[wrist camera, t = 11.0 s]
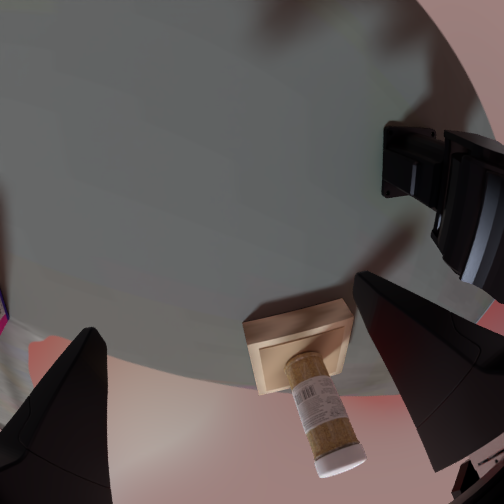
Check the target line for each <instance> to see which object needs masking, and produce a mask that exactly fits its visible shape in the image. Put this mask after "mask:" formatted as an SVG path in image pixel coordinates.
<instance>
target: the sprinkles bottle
mask: <svg viewBox="0 0 504 504" xmlns="http://www.w3.org/2000/svg"><path fill="white" fill-rule="evenodd" d="M284 372H285V374H286V376H287V377H288V380H289V383H290V386H291V390H292V394H293V397H294V400H295V403H296V406H297V410H298V412H299V416H300V419H301V422H302V425H303V428H304V431H305V434H306V435H307V437H308V440H309V443H310V446H311V449H312V452H313V454H314V460H315V463H314V464H315V467H316V470H317V472H318V475H319V477H321V478H325V477H329V476H333V475H337V474H340V473H342V472H345V471H347V470H350V469H352V468H354V467H356V466H358V465H360V464H362V463H363V462H365V461H366V459H367V456H366V454H365V451H364V449H363V447H362V445H361V444H359V443H360V442H359V441H358V440H357V438H356V435H355V433H354V430H353V428H352V426H351V423H350V422H349V417H348V415H347V413H346V410H345V408H344V406H343V403H342V401H341V399H340V397H339V394H338V392H337V390H336V387H335V385H334V383H333V381H332V379H331V377H330V375H329V373H328V371H327V369H326V366H325V364H324V362H323V357H322V355H320V354H319V353H317V352H306V353H303V354H299V355H297V356H295V357H294V358H292V359H291V360H290V361H289V362H288V363H287V364H286V365H285V368H284Z"/></svg>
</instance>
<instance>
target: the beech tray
mask: <svg viewBox="0 0 504 504" xmlns="http://www.w3.org/2000/svg"><path fill="white" fill-rule="evenodd" d="M353 320H354V316H353V314H352V313H351V311H350V310H349V308H348V306H347V305H346V303H345V302H344V300H343V299H342V298H341V299H337V300H334V301H330V302H326V303H323V304H319V305H315V306H311V307H307V308H303V309H300V310H296V311H292V312H287V313H283V314H279V315H275V316H271V317H266V318H262V319H257V320H253V321H248V322H243V323H242V324H243V328H244V333H245V337H246V341H247V346H248V350H249V355H250V359H251V363H252V367H253V372H254V376H255V380H256V384H257V388H258V392H259V395H263V394H267V393H272V392H276V391H280V390H284V389H288V388H291V386H290V383H289V380H288V377H287V376H286V374H285V372H284V368H285V365H286V364H287V363H288V362H289V361H290V360H291V359H292V358H294V357H295V356H297V355H299V354H303V353H306V352H317V353H319V354H320V355H322V357H323V362H324V364H325V366H326V369H327V371H328V373H329V375H330V376H332V375H335V374H338V373H341V372H342V368H343V364H344V360H345V356H346V352H347V347H348V343H349V339H350V334H351V329H352V325H353Z"/></svg>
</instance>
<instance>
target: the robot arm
mask: <svg viewBox="0 0 504 504" xmlns="http://www.w3.org/2000/svg"><path fill="white" fill-rule="evenodd" d="M389 130H390V134H389ZM431 133H432V135H431ZM444 137H445V142H443V141H441V140H438V139H436V131H435V130H433V129H430V128H416V127H395V126H387V127H385V129H384V143H383V172H382V191H381V192H382V196H384V197H385V198H392V197H399V196H406V195H410V196H412V197H414V198H415V199H417V200H418V201H420V202H422V203H423V204H425V205H426V206H428V207H429V208H431V209H433V210H434V211H436V217H435V222H434V227H433V230H432V232H431V238H432V239H433V241H434V242H435V244H436V245H437V247H438V248H439V250H440V252H441V253H442V255H443V257H442V258H443V260H444V262H445V263H446V264H447V265H448V266H449V267H450V268H451V269H452V270H453V271H454V272H455V273H456V274H458V275H459V276H460V277H459V279H460V280H462V281H465V282H468V283H471V284H473V285H475V286H477V287H479V288H481V289H483V290H484V291H485V292H487V293H488V294H489V295H491V296H492V297H493V298H494V299H495V300H497V301H498V302H499V303H501V304H504V145H502V144H501V143H499V142H498V141H496V140H493V139H490V138H487V137H484V136H481V135H478V134H473V133H466V132H459V131H451V130H444ZM387 191H388V192H387ZM386 192H387V194H386ZM353 297H354V300H355V302H356V304H357V307H358V309H359V311H360V314H361V316H362V318H363V321H364V323H365V326H366V328H367V330H368V333H369V335H370V337H371V339H372V340H373V342H374V344H375V346H376V348H377V350H378V352H379V353H380V355H381V357H382V359H383V361H384V363H385V365H386V367H387V369H388V371H389V373H390V375H391V377H392V379H393V381H394V383H395V385H396V387H397V389H398V391H399V393H400V395H401V397H402V399H403V401H404V403H405V405H406V407H407V409H408V411H409V413H410V415H411V418H412V420H413V422H414V424H415V426H416V428H417V431H418V434H419V436H420V438H421V441H422V443H423V445H424V447H425V450H426V452H427V455H428V457H429V459H430V462H431V464H432V467H433V469H434V471H435V472H438V471H440V470H442V469H444V468H446V467H448V466H450V465H452V464H454V463H456V462H457V461H459V460H461V459H463V458H465V457H466V456H469V459H468V460H466V461H465V462H464V463H463V464H462V465H461V466H460V469H459V472H458V475H457V479H456V481H455V485H454V487H453V489H452V492H451V493H452V495H453V498H454V500H453V501H452V502H450V503H449V504H504V336H502V335H500V334H498V333H495V332H493V331H491V330H488V329H486V328H483V327H481V326H479V325H477V324H474V323H472V322H470V321H468V320H466V319H464V318H462V317H460V316H458V315H456V314H454V313H452V312H450V311H448V310H446V309H444V308H442V307H440V306H438V305H437V304H435V303H433V302H431V301H429V300H427V299H425V298H423V297H421V296H419V295H417V294H415V293H413V292H411V291H408V290H406V289H404V288H402V287H400V286H398V285H396V284H394V283H392V282H390V281H388V280H386V279H384V278H382V277H380V276H377V275H375V274H373V273H371V272H369V271H362V272H359V273H357V274H356V275H355V279H354V286H353ZM107 395H108V376H107V346H106V343H105V341H104V340H103V338H102V337H101V335H100V334H99V332H98V331H97V329H96V328H94V327H88V328H84V329H83V330H82V331H81V332H80V333H79V334H78V336H77V337H76V338H75V339H74V340H73V341H72V342H71V344H70V345H69V346H68V347H67V348H66V350H65V351H64V352H63V353H62V354H61V356H60V357H59V358H58V359H57V360H56V362H55V363H54V364H53V365H52V367H51V368H50V369H49V370H48V372H47V373H46V374H45V375H44V376H43V378H42V379H41V380H40V382H39V383H38V384H37V385H36V387H35V388H34V389H33V391H32V392H31V393H30V396H28V397H27V399H26V400H25V401H24V403H23V404H22V405H21V407H20V408H19V409H18V411H17V412H16V413H15V415H14V416H13V417H12V418H11V420H10V421H9V422H8V423H7V424H6V426H5V427H4V428H3V429H2V431H1V432H0V504H113V502H112V495H111V489H110V478H109V467H108V450H107V449H108V448H107Z"/></svg>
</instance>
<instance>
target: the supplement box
mask: <svg viewBox="0 0 504 504" xmlns="http://www.w3.org/2000/svg"><path fill="white" fill-rule="evenodd" d="M8 320H9V315H8V312H7V309H6V306H5V303H4V300H3V297H2V293H1V290H0V335H1V333H2V331H3V329H4V327H5V325H6V323H7V322H8Z"/></svg>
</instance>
